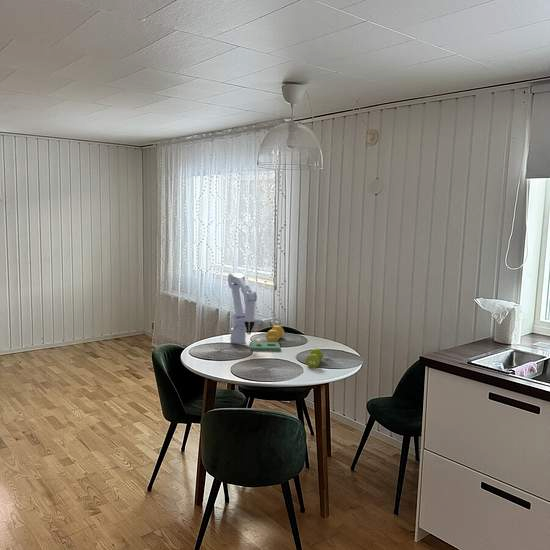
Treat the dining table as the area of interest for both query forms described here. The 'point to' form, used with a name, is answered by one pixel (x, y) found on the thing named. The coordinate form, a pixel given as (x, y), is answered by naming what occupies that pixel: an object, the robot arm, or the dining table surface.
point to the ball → (258, 341)
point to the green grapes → (314, 358)
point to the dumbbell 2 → (274, 334)
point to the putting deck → (265, 346)
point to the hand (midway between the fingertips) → (248, 334)
